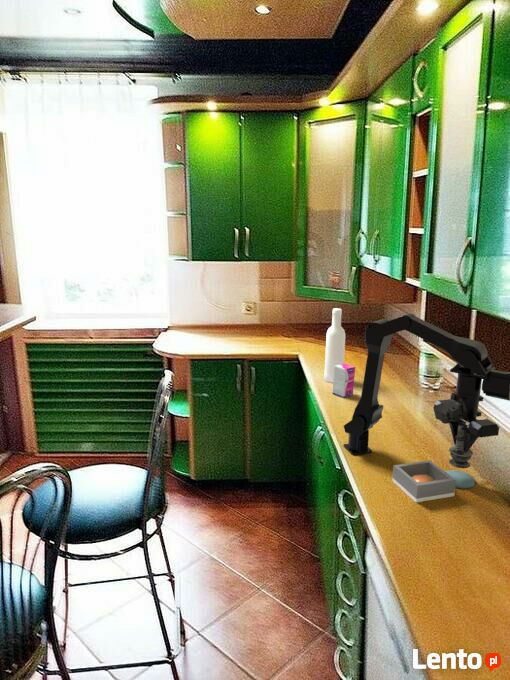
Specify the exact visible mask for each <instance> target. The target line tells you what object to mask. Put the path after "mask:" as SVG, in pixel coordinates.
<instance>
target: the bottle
mask: <svg viewBox="0 0 510 680" xmlns="http://www.w3.org/2000/svg"><path fill="white" fill-rule="evenodd" d="M342 311H343V310H342V308H337V307H336V308H334V307H333V309H332V312H331V313H332V315H331V319H332V320H331V326H329V328H328V329H327V331H326V333H325V334H326V335H325V337H326V339H325V354H324V355H325V357H324V372H323V373H324V374H323V377H324V379H323V380H324V381H325V382H327V383H331V384H333V380H334V367H335V366H336V365H340V364H344V363H345V350H346V349H345V348H346V331H345V329H344V328H343V326H342V314H343V312H342Z"/></svg>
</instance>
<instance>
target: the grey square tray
mask: <svg viewBox="0 0 510 680" xmlns="http://www.w3.org/2000/svg"><path fill="white" fill-rule="evenodd" d="M392 468H393V469H392V479H391V480H392V481H391V482H392V483H394V484H395V485H396V486H397V487H398V488H399V489H401V491H403V493H405V494H406V495H407V496H408V497H409V498H410V499H411V500H412V501H413V502H415V503H422V502H427V501H433V500H438V499H439V500H440V499H445V498H451V497H452V498H453V497H455V492H456V488H455V485H456V480H455V479H454V478H453V477H451V476H450V475H449V474H448V473H446V472H445V471H446V470H443V468H441V467H440V466H438V464H435V463H434V462H433V461H432V460H430V459H429V460H422V461H415V462H409V463H400V464H393V467H392ZM414 475H427V476H429V477H431V478H433V479H434V481H431V482H424V483H418V482H417V481H415V480H414V479H413V478H412V477H413V476H414Z"/></svg>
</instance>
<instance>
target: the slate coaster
mask: <svg viewBox="0 0 510 680" xmlns="http://www.w3.org/2000/svg"><path fill="white" fill-rule="evenodd" d="M444 471H445V472H446V473H448V474H449V475H450V476H451V477H453V478H454V479H455V480H456V485H455V489H461V490H464V489H465V490H466V489H471V488H474V486H475V485H476V479H475V477H474V476H472V475H471V474H469V473H467V472H464V471H460V470H455V469H450V470H444Z"/></svg>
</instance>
